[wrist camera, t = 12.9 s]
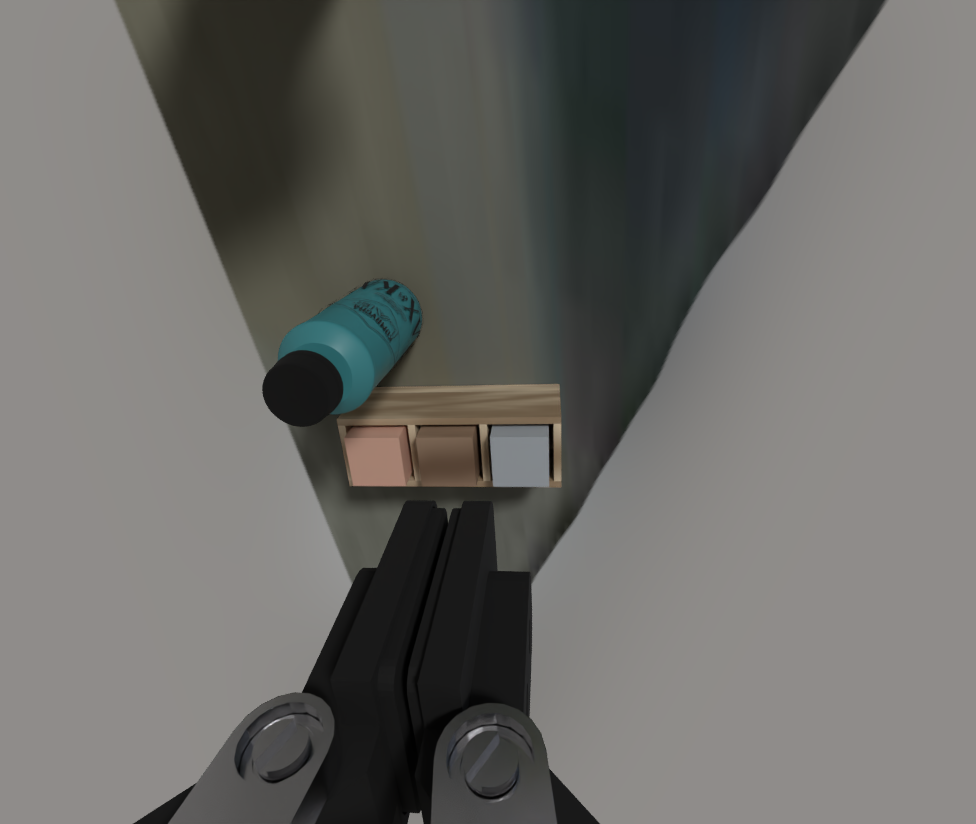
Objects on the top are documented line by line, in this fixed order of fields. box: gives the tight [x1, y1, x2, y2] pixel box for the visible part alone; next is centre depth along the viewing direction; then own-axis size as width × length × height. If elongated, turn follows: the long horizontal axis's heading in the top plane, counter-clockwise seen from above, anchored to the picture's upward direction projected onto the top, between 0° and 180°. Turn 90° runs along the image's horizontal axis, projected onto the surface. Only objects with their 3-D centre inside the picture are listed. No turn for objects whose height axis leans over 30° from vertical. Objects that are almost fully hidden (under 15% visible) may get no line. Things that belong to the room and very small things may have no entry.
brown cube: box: [416, 424, 482, 487], centre depth 45 cm, size 5×5×5 cm
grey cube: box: [490, 424, 549, 487], centre depth 45 cm, size 5×5×5 cm
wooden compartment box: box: [337, 384, 561, 487], centre depth 48 cm, size 7×19×7 cm, turn 93°
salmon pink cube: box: [344, 425, 413, 486], centre depth 46 cm, size 5×5×5 cm
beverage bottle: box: [262, 278, 423, 427], centre depth 38 cm, size 6×7×20 cm
